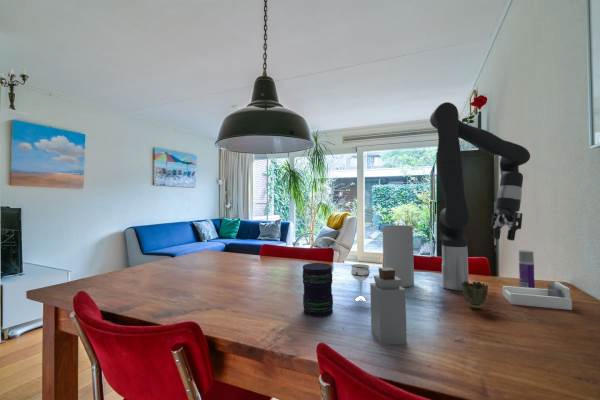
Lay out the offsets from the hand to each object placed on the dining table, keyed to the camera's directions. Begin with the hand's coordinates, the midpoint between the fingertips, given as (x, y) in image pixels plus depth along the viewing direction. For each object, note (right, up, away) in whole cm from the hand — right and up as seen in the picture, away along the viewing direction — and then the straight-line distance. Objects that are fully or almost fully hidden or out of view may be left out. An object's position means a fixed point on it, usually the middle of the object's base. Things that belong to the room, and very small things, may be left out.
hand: (503, 239), depth 109 cm
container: (+12, -20, +3) cm, 24 cm away
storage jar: (-73, -22, -17) cm, 78 cm away
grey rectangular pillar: (-36, -21, +14) cm, 44 cm away
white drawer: (+2, -20, -12) cm, 23 cm away
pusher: (+8, -19, -14) cm, 25 cm away
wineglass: (-56, -21, -5) cm, 61 cm away
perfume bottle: (-56, -21, -36) cm, 70 cm away
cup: (-21, -21, -16) cm, 34 cm away
